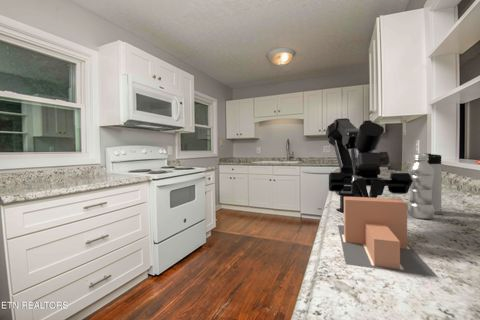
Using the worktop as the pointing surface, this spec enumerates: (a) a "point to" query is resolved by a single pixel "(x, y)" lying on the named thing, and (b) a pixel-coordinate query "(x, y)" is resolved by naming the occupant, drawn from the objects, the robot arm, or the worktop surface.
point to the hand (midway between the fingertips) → (371, 210)
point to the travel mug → (436, 181)
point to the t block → (377, 227)
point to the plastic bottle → (421, 188)
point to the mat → (361, 257)
